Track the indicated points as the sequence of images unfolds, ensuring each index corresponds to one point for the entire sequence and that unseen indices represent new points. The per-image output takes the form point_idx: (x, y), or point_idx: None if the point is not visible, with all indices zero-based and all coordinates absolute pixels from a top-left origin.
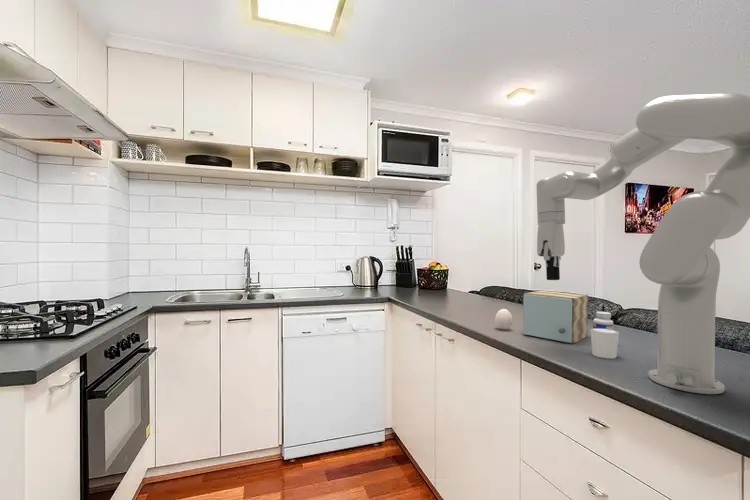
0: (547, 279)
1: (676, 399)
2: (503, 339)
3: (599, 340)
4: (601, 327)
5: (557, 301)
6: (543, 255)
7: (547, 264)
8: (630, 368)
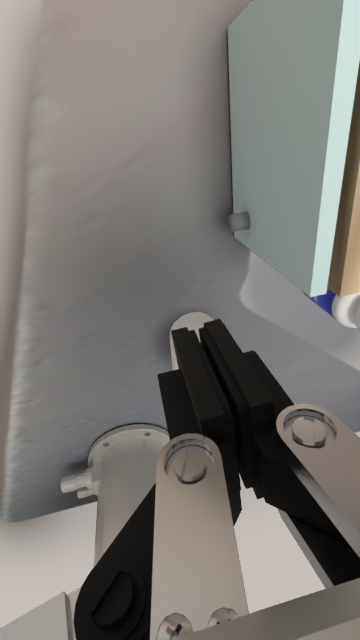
0: (172, 334)
1: (48, 474)
2: (73, 12)
3: (172, 361)
4: (325, 302)
5: (306, 224)
6: (334, 636)
7: (146, 498)
8: (141, 395)
